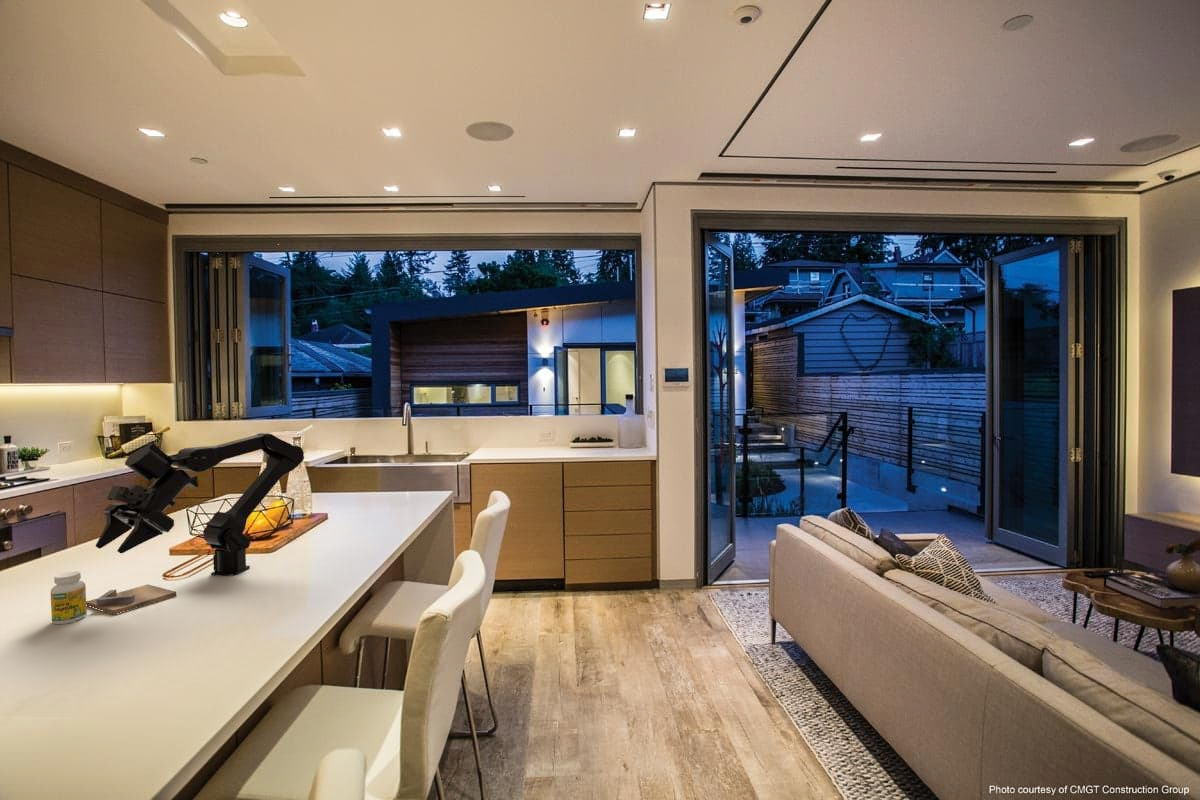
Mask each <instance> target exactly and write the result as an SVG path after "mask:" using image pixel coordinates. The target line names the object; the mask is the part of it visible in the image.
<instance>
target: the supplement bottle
mask: <svg viewBox="0 0 1200 800" xmlns="http://www.w3.org/2000/svg"><path fill="white" fill-rule="evenodd" d="M81 578H82V575H81V572H80V571H69V572H64V573H60V574H57V575H55V576H54V580H53V581H54V584H55V585H54V586H52V588H51V589H50V609H51V610H50V611H51V622H52V623H53V625H63V624H65V623H66V624H70V622H71V623H73V621H74V622H77V621H76V620H78V621H80V620H82V619H84V618H85V617H86V616H87V614H88V613H87V612H88V611H87V610H88V609H87V606H86V601H87V591H86V583H85V582H84V581H83V580H81ZM83 617H84V618H83ZM81 618H82V619H81ZM79 619H80V620H79ZM66 624H65V625H66Z"/></svg>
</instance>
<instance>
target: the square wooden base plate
mask: <svg viewBox="0 0 1200 800" xmlns="http://www.w3.org/2000/svg"><path fill="white" fill-rule="evenodd" d="M174 596H175V597H177V591H175V590H170V589H167V588H163V587H159V586H155V585H151V584H144V585H140V586H137V587H134V588H130V589H126V590H123V591H119V592H117V589H110V590H108V591H107V592H105V593H104V594H103V595H101V596H99V597H98V598H95V599H90V600H86V605H87V606H91V607H94V608H97V609H100V610H103V611H105V612H104V613H106V612H109V613H112V614H116V615H118V614H117V613H119V614H121V613H120V612H123V611H126V612H128V611H127V610H129V611H131V610H130V609H132V610H134V609H133V608H136V607H139V608H141V607H140V606H142V607H145V606H148V605H147V604H149V605H151V604H150V603H152V604H155V603H158V602H161V600H162V601H164V600H168V599H172V598H174ZM171 597H172V598H171ZM154 602H155V603H154ZM144 605H145V606H144ZM87 606H86V607H87ZM136 609H137V608H136ZM100 610H99V611H100ZM103 611H102V612H103ZM109 613H108V614H109ZM123 613H124V612H123ZM112 614H111V615H112Z"/></svg>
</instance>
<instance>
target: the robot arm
mask: <svg viewBox="0 0 1200 800" xmlns="http://www.w3.org/2000/svg"><path fill="white" fill-rule="evenodd" d="M259 450H261V451H262V452H263V454H265V455H266V456H268V457H267V461H266V466H265V467H264V469H263V471H261V472H260V474H259V475H258V476H257V477H256V478H255V480H254V481H253V482H252V483H251V484H250V486H248V488H247V489H246V490H244V493H242V494H241V496H240V497H239V498H238V499H237V500H236V502H235V503H234V504H233V505H232V506H231V508H230V509H229V510H227V511H225V512H224V511H223V512H221V511H216V512H215V513H214V514H213V516H212V517H211V519H210V520H209V521H207V522H206V523H204V525H205V528H203V532H202V533H203V539H204V541H205V543H207V544H208V545H209V546H210V549H213V550H214V555H212V556H213V557H212V558H213V571H212V572H210V575H211V576H235V575H239V574H240V573H241V572H244V571H246V570H248V569H250V568H251V566H250V565H247V555H246V554H247V553H246V550H247V549H249V548H250V544H251V541H252V540H251V538H249V537H247V536H246V535H244V534H243V533H244V532H245V530H246V525H247V522H248V518H249V517H250V516H251V515H252V514H253V512H254V511H255V510H256V508H257V507H258V506H259V505H260V504H261V502H262V501H263V500H264V499H265V498H266V497H267V495H268V494H269V492H270V491H271V490H272V489H273V488H274V487H275V486H276V484H277V483H278V481H280V479H281V478H282V477H283V476H284V475H287V474H288V473H290V472H292V471H294V470H295V469H296V468H297V467H298V466H299V465H301V463H302V462H303V461H304V459H305V455H304V454H305V452H304V450H303V448H302V447H301V446H298V445H293V444H291V443H290V442H287V441H286V440H282V439H281V438H279V437H277V436H275V435H273V434H272V433H265V432H264V433H263V432H260V433H256V434H255V435H251V436H247V437H243V438H239V439H236V440H232V441H228V442H224V443H220V444H216V445H211V446H210V445H207V446H195V447H184V448H182V449H179V450H178V452H177V453H175V454H171V455H170V454H169V455H168V454H166V453H165V452H164V451H163V450H161V448H159V446H158V445H156V444H155V443H147V445H145V446H144V447H142V448H140V449H137V450H136V451H135V452H132V453H131V454H130V455H128V457H127V459H126V460H125V462H124V465H125V466H126V467H128V468H129V469H130V470H132V471H134V472H135V473H136V474H137V475H139V476H140V477H142V478H143V479H145V480H146V481H151V480H155V481H154V482H153V483H152V484H151V485H150V486H149V487H144V486H141V485H138V484H132V485H131V486H129V487H126V486H120V485H115V484H114V485H112V486H111V488H110V490H109V492H108V494H107V496H106V500H109V501H115V502H116V501H117V502H116V503H115V502H114V503H109V505H107V506H106V508H105V509H103V512H104V517H105V518H106V519H105V520H106V524H105V527H104V529H103V531H102V532H101V535H100V536H99V538H98V540H97V541H96V544H95V547H96V548H98V549H102V548H104V547H106V546H107V545H109V544H110V543H112V542H114V541H115V540H117V539H118V538H120V537H121V536H123V535H124V534H126V533H128V532H129V531H130V530H131V531H130V532H129V534H128V535H127V536H126V537H125V539H124V541H122V543H121V544H120V546H119V547H118V549H117V553H120V554H124V553H125V552H128V551H129V550H132V549H133V548H136V547H137V546H139V545H141V544H143V543H145V542H147V541H150V540H152V539H154V538H156V537H158V536H162V535H163V534H164V533H167V534H168V533H169V532H170V531H171V530H172V529H173V528H174V527H175V519H173V518H172V517H170V516H169V515H167V514H166V513H165V512H164V511H165V510H166V509H167V508H168V507H173V506H174V505H175V504H176V502H175V501H174V500H175V499H176V498H177V497H178V496H179V495H180V493H182V492H183V490H185V488H186V487H190V488H192V487H193V488H198V487H199V480H198V478H199V477H198V475H191V474H189V473H187V472H194V473H195V472H196V473H202V472H205V471H207V470H210V469H211V468H214V467H216V466H217V465H219V464H220V463H221V462H223V461H226V460H229V459H232V458H236V457H238V456H239V457H240V456H242V455H246V454H249V453H253V452H257V451H259ZM174 466H175V467H177V468H178V469H176V468H175V467H174ZM119 502H120V503H119Z"/></svg>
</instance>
